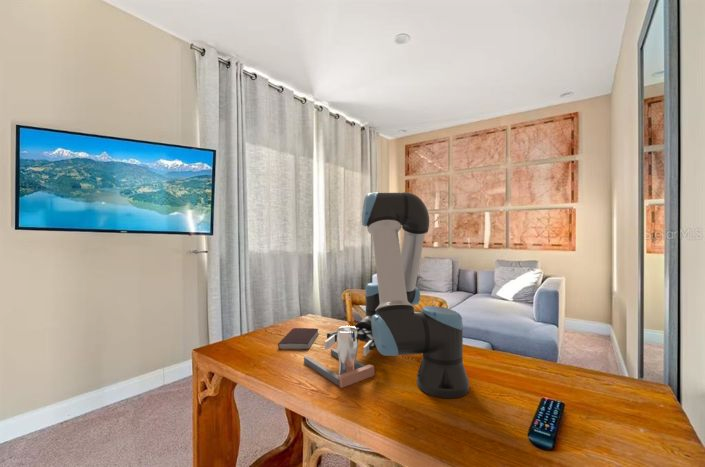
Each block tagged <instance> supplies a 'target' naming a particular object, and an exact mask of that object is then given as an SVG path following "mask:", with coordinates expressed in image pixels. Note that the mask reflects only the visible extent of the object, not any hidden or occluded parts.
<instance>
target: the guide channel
mask: <svg viewBox="0 0 705 467" xmlns="http://www.w3.org/2000/svg"><path fill="white" fill-rule="evenodd" d="M330 355H331V356H332V357H334V358H336V359H338V360H339V356H338V351H337V348H331V349H330ZM303 363H304V364H305V365H306V366H308V367H309V368H311V369H312V370H314V371H316V372H317V373H319V374H320V375H322V376H323V377H325V378H326V379H328V380H329V381H331V382H332V383H333V384H335V385H336V386H338V387H340V388H341V389H342V388H345V387H348V386H350V385H351V386H352V385H354V384H356V383H358V382H359V383H360V381H363V380H366V379H369V378H371V377H373V376H374V377H375V366H374V365H373V364H371V363H370V364H365V363H363V362H361V361H359V360H358V359H356V369H355V370H352V371H350V372H347V373H344V374H341V375H339V374H338V373H336V372H334V371H332V370H330V369H329V368H327V366H324V365H322V364H321V363H319V362H318V361H316V360H314V359H313V358H311V357H310V356H304V357H303Z"/></svg>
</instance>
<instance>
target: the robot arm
mask: <svg viewBox="0 0 705 467" xmlns="http://www.w3.org/2000/svg"><path fill="white" fill-rule="evenodd" d="M362 204H363V205H362V212H361V224H362V226H363V227H367V232H368V234H370V235H371V236H372V241H373V242H372V243H373V250H374V260H375V270H376V271H375V272H376V280H377V282H368V283H366V285H365V292H364V293H365V295H364V296H365V317H364V318H362V319H361V320H360V321H358V322H357V323H356V324H355V325H354V327H356V328H357V333H358V341H361V342H364V343H366V344H364V345H363V347H362V348H363V350H362V352H363V357H364V356H365V357H366V356H367V355H369V353H370V352H371V351H373V350H374V349H377V352H379V354H381V355H382V356H385V357H386V356H387V357H389V356H391V357H392V356H393V357H397V356H406V355H409V356H410V355H422V359H421V362H420V366H419V369H418V372H417V375H416V384H417V387H418V388H419V390H421V391H422V392H423V393H425V394H427V395H430V396H433V397H436V398H440V399H457V398H461V397H464V396H465V395H467V394H468V393H469V392H470V380H469V378H468V376H467V371H466V368H465V366H464V361H463V359H464V357H463V355H464V353H463V351H464V350H463V349H464V348H463V347H464V346H463V342H464V341H463V340H464V338H463V336H464V335H463V334H464V332H463V331H464V325H463V324H464V323H463V317H462V315H461V314H460V312H457V311H456V310H453V309H451V308H446V307H441V306H437V305H436V306H435V305H427V306H423V307H422V309H421V312H415V308H414V306H416V305H419V303H420V299H421V292H420V289H419V288H418V287H417V282H418V274H419V269H420V263H421V259H422V252H423V247H424V241H425V235H426V234H427V233H428V232H429V229H430V215H429V211H428V208H427V206H426V204H425V203H424V202H423V200H422V199H421V198H420V197H419V196H418V195H416V194H414V193H412V192H406V191H405V192H380V191H377V192H369V193H366V194H365V196H364V200H363V203H362ZM401 229H402V231H404V232H403V239H402V245H400V238H399V232H400V230H401ZM400 246H402V247H400ZM335 343H337V330H335V331H331V332H328V333H326V340H324V350H325V351H327V350H329V349H330V348H332V346H333V345H335Z"/></svg>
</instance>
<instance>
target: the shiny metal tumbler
mask: <svg viewBox="0 0 705 467" xmlns="http://www.w3.org/2000/svg"><path fill="white" fill-rule="evenodd" d="M336 331H337V342H336V350H337V351H338V356H339V359H338V361H339V362H338V363H339V368H338V375H341V374H344V373H347V372H350V371H352V370H355V369H356V360H357V358H358V357H357V356H358V348H359V339H358V333H357V328H356V327H355V326H352V325H351V326H350V325H349V326H348V325H346V326H345V325H343V326H340V327H338V328H337V329H336Z"/></svg>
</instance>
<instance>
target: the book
mask: <svg viewBox="0 0 705 467" xmlns="http://www.w3.org/2000/svg"><path fill="white" fill-rule="evenodd" d="M319 335H320V333H319V328H314V327H313V328H312V327H295V328H294V327H293V328H291V330H289V332H288V333H287V334H286V335H285V336H284V337H283V338H282V339H281V340H280V341H279V342H278V343H277V344H278V345H277V347H278V349H279V350H280V349H281V350H282V349H283V350H297V349H298V350H300V351H303V350H305V351H308V350H310V348H311V347H312V345H313V344H314V341H316V339H317V337H318V336H319Z"/></svg>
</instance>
